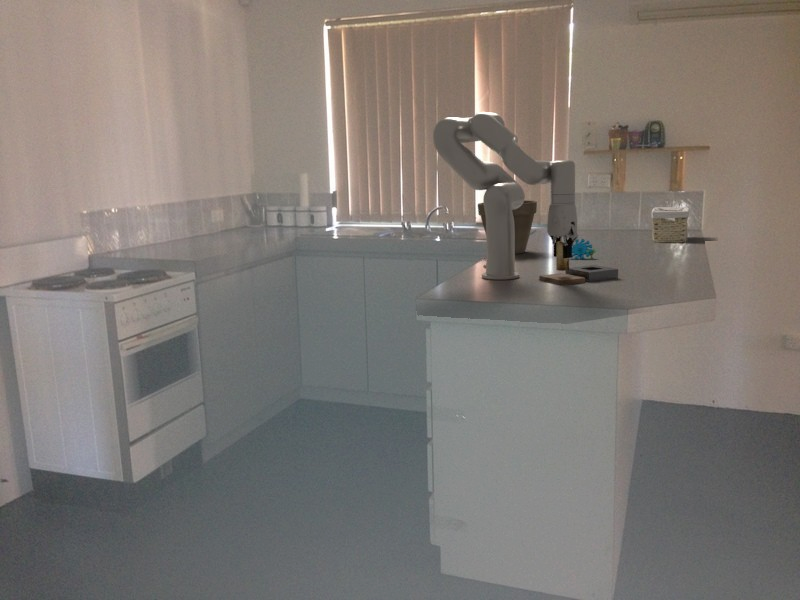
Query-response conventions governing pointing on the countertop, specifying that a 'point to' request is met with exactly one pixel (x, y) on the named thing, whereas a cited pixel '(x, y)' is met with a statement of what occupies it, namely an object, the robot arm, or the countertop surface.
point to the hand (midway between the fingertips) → (562, 256)
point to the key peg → (561, 258)
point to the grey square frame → (593, 272)
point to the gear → (582, 249)
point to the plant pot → (518, 222)
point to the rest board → (562, 279)
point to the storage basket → (670, 224)
